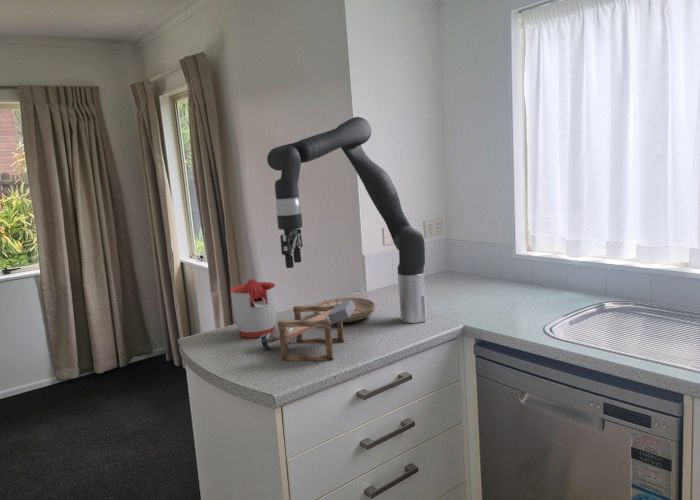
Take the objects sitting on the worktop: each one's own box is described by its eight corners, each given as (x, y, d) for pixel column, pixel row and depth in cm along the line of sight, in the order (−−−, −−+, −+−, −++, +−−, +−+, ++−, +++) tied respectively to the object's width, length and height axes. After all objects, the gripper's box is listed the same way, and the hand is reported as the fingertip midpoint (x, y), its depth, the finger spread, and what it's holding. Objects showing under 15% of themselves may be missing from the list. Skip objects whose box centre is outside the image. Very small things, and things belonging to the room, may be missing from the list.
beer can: (288, 333, 172) (256, 341, 176) (295, 345, 174) (263, 352, 178) (293, 324, 176) (261, 332, 180) (299, 335, 178) (268, 343, 182)
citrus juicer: (241, 344, 185) (235, 286, 182) (231, 331, 201) (225, 278, 198) (286, 336, 191) (281, 279, 188) (272, 324, 207) (267, 271, 204)
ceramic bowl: (302, 325, 203) (301, 312, 202) (333, 308, 224) (332, 296, 223) (358, 330, 192) (357, 316, 192) (385, 311, 213) (385, 299, 212)
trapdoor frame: (344, 340, 182) (341, 302, 180) (332, 360, 165) (329, 318, 162) (297, 340, 185) (294, 303, 183) (281, 360, 168) (277, 318, 166)
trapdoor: (356, 306, 177) (352, 298, 177) (348, 319, 163) (343, 310, 163) (302, 328, 182) (298, 320, 182) (289, 342, 168) (285, 333, 168)
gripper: (294, 214, 161) (299, 269, 163) (307, 209, 175) (311, 260, 177) (269, 216, 162) (275, 270, 165) (284, 211, 176) (289, 261, 179)
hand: (294, 265), depth 171 cm, fingers open, 8 cm apart
